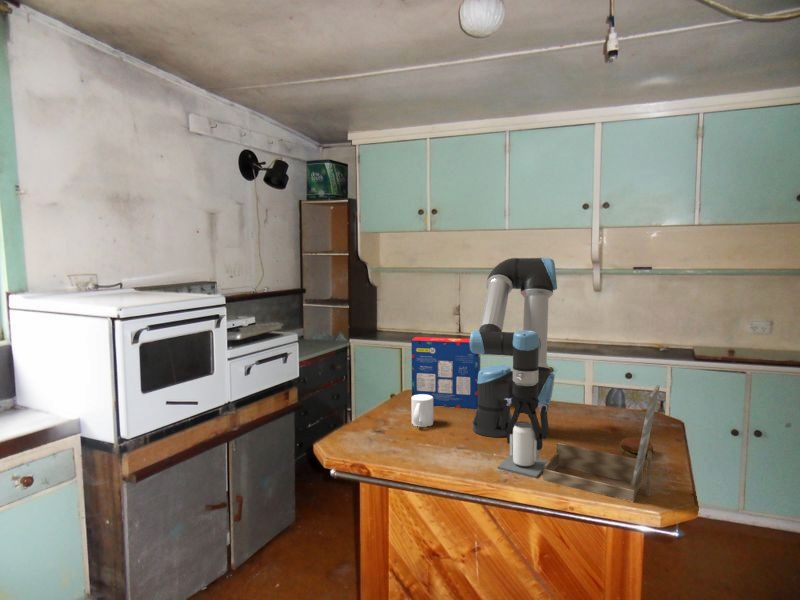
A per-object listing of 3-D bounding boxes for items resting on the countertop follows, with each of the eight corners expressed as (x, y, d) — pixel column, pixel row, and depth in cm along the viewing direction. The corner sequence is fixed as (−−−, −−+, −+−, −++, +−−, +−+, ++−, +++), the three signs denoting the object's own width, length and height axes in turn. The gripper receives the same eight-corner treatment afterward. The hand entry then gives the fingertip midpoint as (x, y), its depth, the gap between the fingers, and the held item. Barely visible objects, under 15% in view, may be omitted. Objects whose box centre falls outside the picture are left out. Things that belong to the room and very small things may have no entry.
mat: (497, 468, 157) (497, 466, 157) (513, 455, 167) (513, 453, 167) (536, 478, 150) (536, 476, 150) (550, 463, 160) (550, 461, 160)
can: (535, 467, 155) (535, 428, 154) (513, 466, 156) (513, 427, 155) (534, 459, 161) (534, 421, 160) (513, 457, 162) (512, 420, 161)
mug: (435, 395, 199) (426, 404, 188) (436, 421, 200) (426, 431, 189) (415, 393, 202) (405, 401, 191) (415, 419, 203) (405, 429, 192)
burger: (613, 452, 169) (614, 438, 168) (630, 446, 174) (630, 432, 174) (642, 462, 161) (643, 448, 160) (659, 455, 166) (659, 441, 165)
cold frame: (543, 479, 149) (544, 381, 146) (556, 464, 159) (558, 372, 156) (647, 505, 134) (652, 395, 131) (655, 487, 144) (659, 385, 141)
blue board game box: (480, 403, 222) (480, 339, 219) (478, 409, 215) (478, 342, 212) (416, 399, 229) (415, 337, 226) (411, 405, 221) (411, 340, 219)
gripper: (489, 380, 159) (489, 453, 161) (553, 390, 147) (552, 468, 150) (499, 375, 165) (499, 446, 167) (562, 384, 154) (560, 459, 156)
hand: (524, 456), depth 158 cm, fingers open, 7 cm apart
